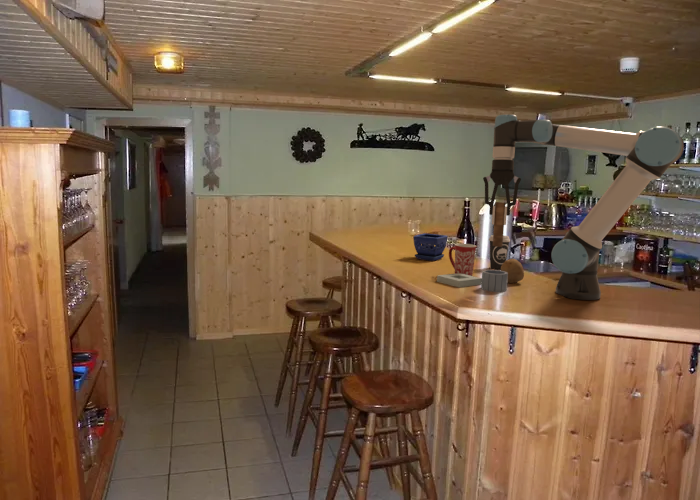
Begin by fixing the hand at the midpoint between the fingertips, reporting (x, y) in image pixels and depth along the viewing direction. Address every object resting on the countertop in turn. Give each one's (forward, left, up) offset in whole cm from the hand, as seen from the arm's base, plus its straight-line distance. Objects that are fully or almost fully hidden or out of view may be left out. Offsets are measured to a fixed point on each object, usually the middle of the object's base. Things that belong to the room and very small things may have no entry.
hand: (498, 224), depth 198 cm
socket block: (+14, +4, -25) cm, 29 cm away
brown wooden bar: (0, 0, -8) cm, 8 cm away
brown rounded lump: (+6, -17, -25) cm, 31 cm away
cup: (0, 0, -25) cm, 25 cm away
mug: (+26, -9, -25) cm, 37 cm away
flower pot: (+66, -28, -25) cm, 76 cm away
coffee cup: (+32, -39, -25) cm, 56 cm away
